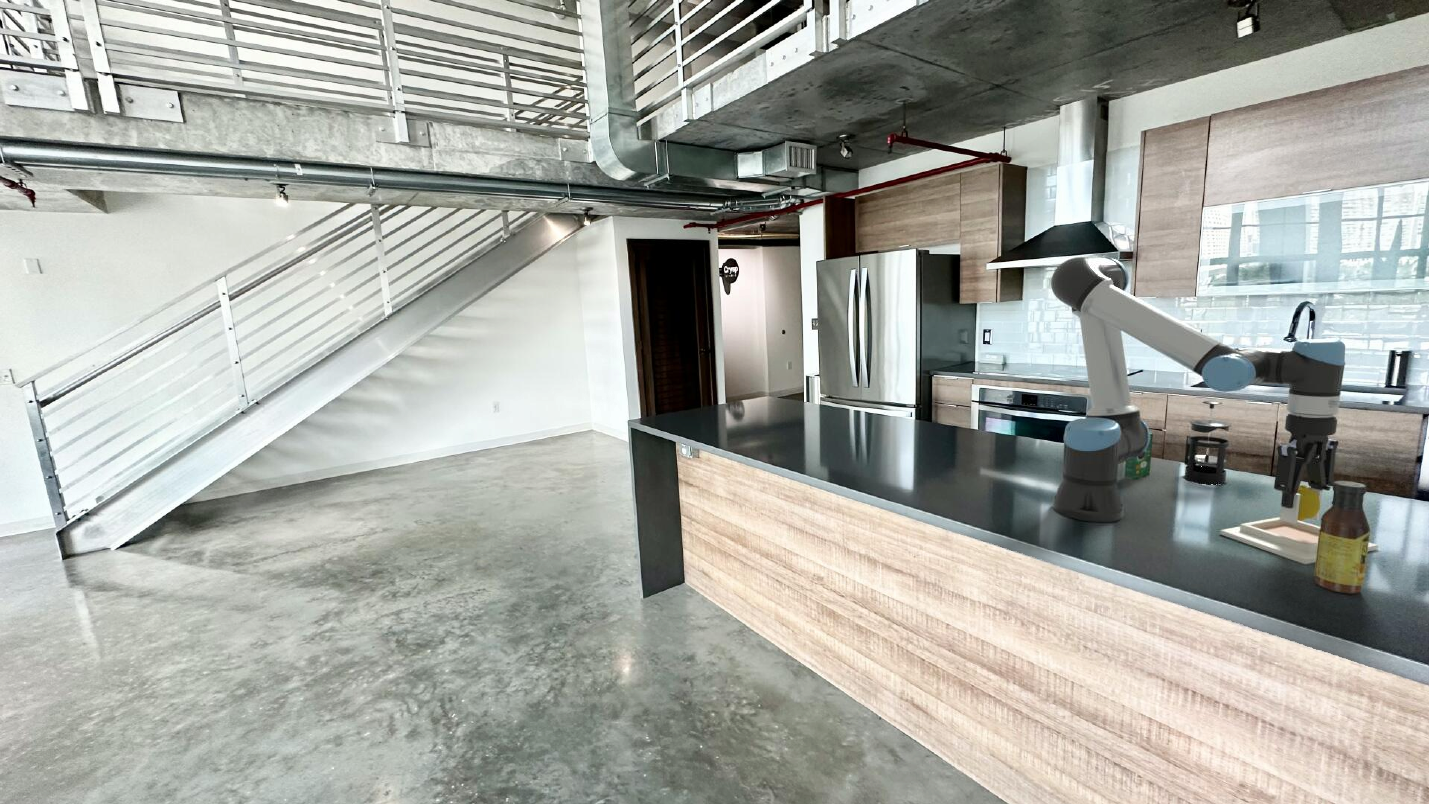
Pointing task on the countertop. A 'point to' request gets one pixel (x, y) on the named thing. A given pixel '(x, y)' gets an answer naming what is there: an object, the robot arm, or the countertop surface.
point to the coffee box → (1139, 463)
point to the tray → (1282, 538)
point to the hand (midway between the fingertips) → (1299, 519)
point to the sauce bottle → (1343, 540)
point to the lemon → (1307, 503)
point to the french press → (1205, 472)
